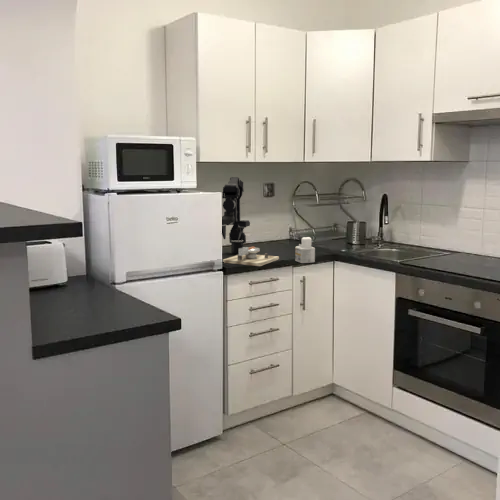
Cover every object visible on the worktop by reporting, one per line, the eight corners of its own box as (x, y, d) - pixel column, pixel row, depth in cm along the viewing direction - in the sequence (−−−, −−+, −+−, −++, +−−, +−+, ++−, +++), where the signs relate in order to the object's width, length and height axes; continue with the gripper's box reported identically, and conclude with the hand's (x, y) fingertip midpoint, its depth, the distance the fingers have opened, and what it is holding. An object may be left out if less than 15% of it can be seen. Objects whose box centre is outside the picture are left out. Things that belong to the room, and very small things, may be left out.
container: (295, 260, 291) (295, 236, 289) (308, 259, 294) (308, 235, 291) (301, 263, 284) (301, 238, 282) (315, 262, 286) (315, 237, 284)
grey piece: (247, 250, 297) (247, 244, 296) (262, 251, 292) (262, 245, 292) (233, 254, 283) (233, 248, 283) (248, 256, 279) (248, 249, 278)
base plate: (222, 262, 287) (222, 253, 286) (243, 256, 306) (243, 247, 305) (259, 266, 277) (259, 256, 276) (279, 259, 296) (279, 250, 295)
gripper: (207, 210, 278) (207, 240, 281) (241, 211, 271) (241, 242, 273) (217, 208, 288) (217, 238, 291) (250, 209, 281) (250, 239, 283)
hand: (231, 239), depth 284 cm, fingers open, 7 cm apart
